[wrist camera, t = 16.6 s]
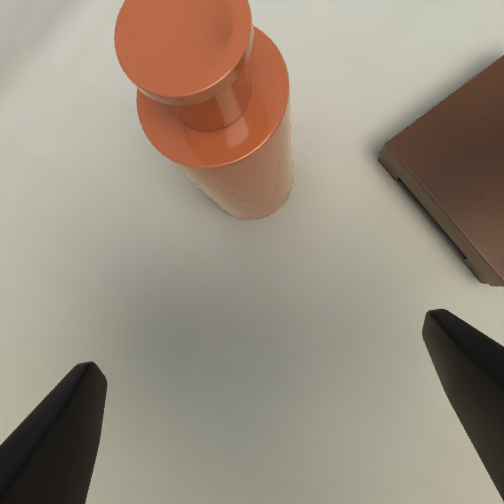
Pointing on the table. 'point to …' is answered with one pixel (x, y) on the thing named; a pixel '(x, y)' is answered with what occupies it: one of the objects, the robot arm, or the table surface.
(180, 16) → the vase
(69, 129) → the table surface
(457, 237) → the stand
